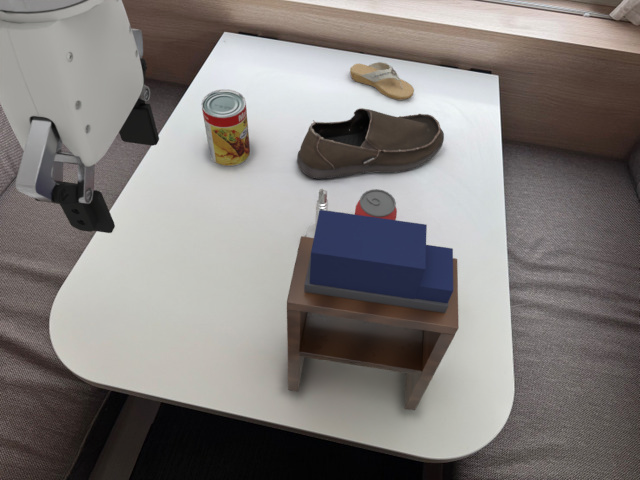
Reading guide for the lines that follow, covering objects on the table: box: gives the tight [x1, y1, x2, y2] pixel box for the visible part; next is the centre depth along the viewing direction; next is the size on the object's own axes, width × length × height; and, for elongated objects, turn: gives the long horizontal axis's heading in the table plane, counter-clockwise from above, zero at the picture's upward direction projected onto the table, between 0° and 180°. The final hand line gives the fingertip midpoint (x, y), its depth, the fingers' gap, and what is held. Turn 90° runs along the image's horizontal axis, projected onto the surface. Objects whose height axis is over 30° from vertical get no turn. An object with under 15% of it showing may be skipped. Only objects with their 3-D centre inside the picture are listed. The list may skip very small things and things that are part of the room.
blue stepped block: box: [304, 210, 454, 313], centre depth 54 cm, size 15×6×7 cm, turn 82°
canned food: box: [200, 88, 251, 167], centre depth 98 cm, size 8×8×12 cm
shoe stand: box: [286, 236, 459, 411], centre depth 66 cm, size 18×9×24 cm, turn 82°
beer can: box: [354, 188, 398, 220], centre depth 85 cm, size 7×7×12 cm
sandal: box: [349, 61, 415, 101], centre depth 116 cm, size 7×16×5 cm, turn 64°
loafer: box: [296, 107, 445, 180], centre depth 99 cm, size 11×30×11 cm, turn 110°
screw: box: [305, 188, 329, 238], centre depth 85 cm, size 13×5×5 cm
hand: (119, 181), depth 42 cm, fingers open, 9 cm apart
